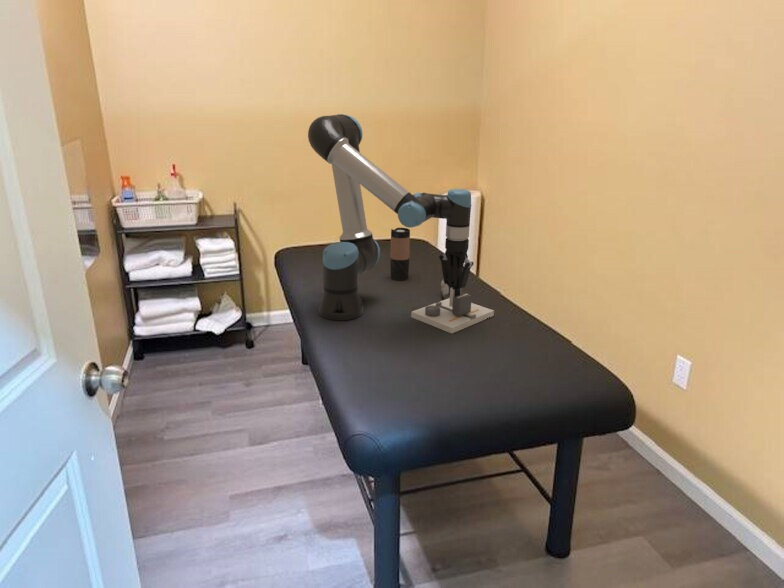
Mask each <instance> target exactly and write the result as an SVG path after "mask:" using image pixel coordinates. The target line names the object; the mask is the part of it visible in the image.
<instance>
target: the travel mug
mask: <svg viewBox="0 0 784 588" xmlns="http://www.w3.org/2000/svg"><path fill="white" fill-rule="evenodd" d="M410 242H411V229H410V228H408V227H396V228H395V229H393V228H391V229H390V258H389V259H390V263H389V264H390V265H389V266H390V279H392V280H393V281H399V282H400V281H406V280H408V279H409V270H410V254H411V253H410V247H411V243H410Z"/></svg>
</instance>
